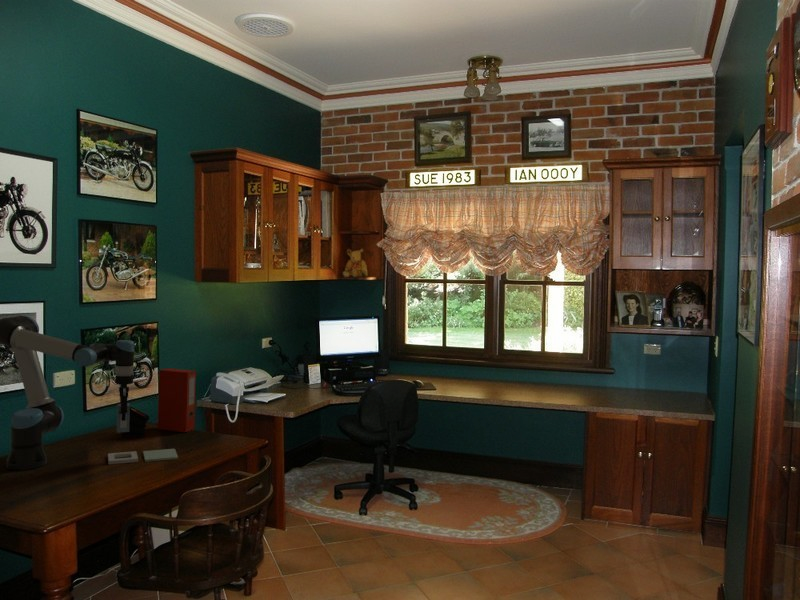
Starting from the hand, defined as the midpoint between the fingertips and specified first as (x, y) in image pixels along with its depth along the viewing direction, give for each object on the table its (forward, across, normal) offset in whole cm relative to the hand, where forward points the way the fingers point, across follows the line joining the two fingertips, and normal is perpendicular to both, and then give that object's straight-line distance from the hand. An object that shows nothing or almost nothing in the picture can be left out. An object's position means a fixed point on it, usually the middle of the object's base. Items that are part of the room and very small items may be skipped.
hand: (123, 425), depth 289 cm
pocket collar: (+15, 0, 0) cm, 15 cm away
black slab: (+16, +38, -7) cm, 42 cm away
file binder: (+15, +47, -28) cm, 57 cm away
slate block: (+2, 0, 0) cm, 2 cm away
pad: (+15, 0, -16) cm, 22 cm away
